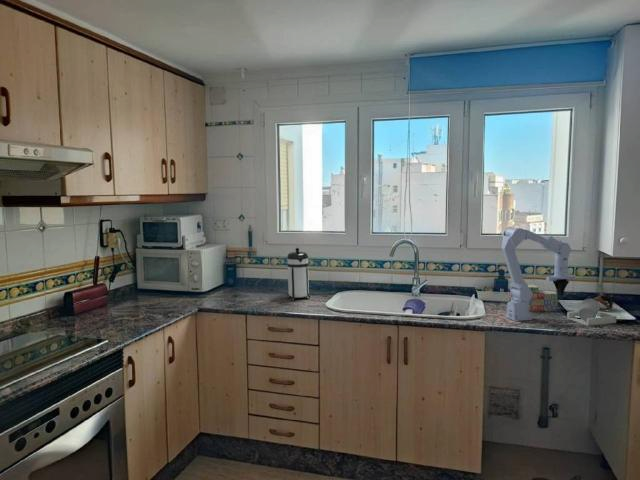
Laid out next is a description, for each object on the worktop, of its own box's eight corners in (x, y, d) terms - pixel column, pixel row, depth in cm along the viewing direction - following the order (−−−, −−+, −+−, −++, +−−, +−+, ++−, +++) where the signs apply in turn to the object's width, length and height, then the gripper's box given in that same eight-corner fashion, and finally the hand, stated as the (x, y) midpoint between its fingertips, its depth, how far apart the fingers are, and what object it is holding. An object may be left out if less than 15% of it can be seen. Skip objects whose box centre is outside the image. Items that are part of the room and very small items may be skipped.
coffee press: (317, 296, 282) (315, 246, 278) (302, 302, 268) (300, 250, 265) (293, 293, 291) (292, 245, 288) (277, 298, 278) (276, 248, 274)
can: (599, 318, 212) (604, 308, 220) (588, 304, 213) (594, 294, 221) (583, 324, 217) (588, 314, 225) (573, 310, 218) (579, 300, 226)
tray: (588, 325, 211) (588, 319, 211) (567, 318, 224) (567, 312, 223) (616, 323, 214) (616, 316, 214) (593, 315, 227) (594, 309, 227)
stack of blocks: (554, 308, 242) (555, 285, 240) (557, 311, 236) (558, 287, 234) (510, 306, 247) (510, 283, 246) (511, 310, 241) (512, 286, 240)
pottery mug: (598, 307, 245) (607, 294, 240) (609, 319, 237) (619, 307, 233) (579, 302, 242) (588, 290, 238) (589, 315, 234) (599, 302, 230)
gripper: (568, 264, 231) (567, 292, 232) (542, 266, 228) (541, 294, 229) (578, 267, 224) (577, 295, 225) (552, 269, 221) (551, 297, 222)
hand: (560, 294), depth 227 cm, fingers closed
